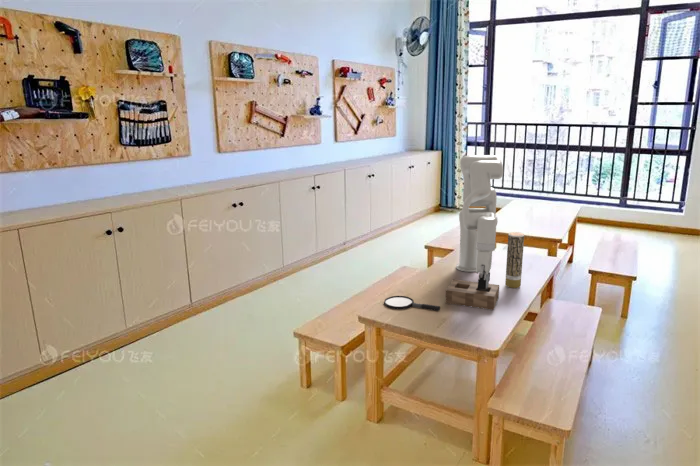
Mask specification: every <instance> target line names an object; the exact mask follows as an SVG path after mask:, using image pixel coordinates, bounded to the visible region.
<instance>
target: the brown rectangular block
mask: <svg viewBox="0 0 700 466" xmlns="http://www.w3.org/2000/svg"><path fill="white" fill-rule="evenodd" d="M499 294H500V285H499V284H494V283H489V286H488V292H485V291H479V288H478V281H470V280H463V279H461V280H460V279H456V278H455V279H452V280H451V282H450V284H449V285H448V286H447V287H446V289H445V304H448V305H449V304H450V305H457V306H462V305H465V306H464V307H469V306H472V307H471V308H476V307H479V308H478V309H483V308H484V310H491V311H494V310H495V307H496V306H497V302H498V300H499V297H500V295H499Z"/></svg>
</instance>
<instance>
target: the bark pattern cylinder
mask: <svg viewBox="0 0 700 466" xmlns="http://www.w3.org/2000/svg"><path fill="white" fill-rule="evenodd" d="M524 243H525V234H524V233H523V232H519V231H518V232H517V231H511V232H509V233H508V236H507V252H506V264H505V265H506V269H505V282H504V283H505V286H506V287H507V288H510V289H519V288H520V287H521V285H522V274H523V272H522V271H523V258H524Z"/></svg>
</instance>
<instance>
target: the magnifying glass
mask: <svg viewBox="0 0 700 466" xmlns="http://www.w3.org/2000/svg"><path fill="white" fill-rule="evenodd" d="M383 302H384V306H385V307H386V308H388V309H392V310H407V309H411V308H412V307H413V308H419V309H423V310H428V311H429V310H430V311H435V312H440V309H441V307H440V305H435V304H434V305H433V304H427V303H426V304H425V303H417V302H414V299H413V298H412V297H408V296H405V295H394V296H393V295H391V296H389V297H386V298H385V299H384V301H383Z"/></svg>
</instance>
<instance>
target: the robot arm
mask: <svg viewBox="0 0 700 466" xmlns="http://www.w3.org/2000/svg"><path fill="white" fill-rule="evenodd" d="M503 165H504V164H503V162H502V160H501V159H500V158H499V157H498V156H497V155H493V154H472V155H464V156H462V157H461V159H460V162H459V166H460V170H461V173H462V177H463V194H462V200H463V204H462V207H461V208H462V209H461V210H460V211H459V214H458V218H459V221H458V222H459V229H460V231H459V233H460V234H459V235H460V237H459V263H457V264H456V265H455V267H456V270H458V271H462V272H466V273H474V272H475V273H476V274H478V278H477V282H478V288H479V289H486V280H485V279H486V275H487V274H488V273H489V282H490V279H491V278H490V277H491V276H490V275H491V268H492V260H493V252H494V251H495V250H496V238H497V237H496V235H497V226H498V220H499V219H498V216H497V215H496V213H497V198H498V197H497V191H496V189H495V188H494V187H492V186H491V184H492V183H491V180H500V179H501V178H502V177H503V176H504V166H503ZM484 272H485V273H484Z"/></svg>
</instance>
